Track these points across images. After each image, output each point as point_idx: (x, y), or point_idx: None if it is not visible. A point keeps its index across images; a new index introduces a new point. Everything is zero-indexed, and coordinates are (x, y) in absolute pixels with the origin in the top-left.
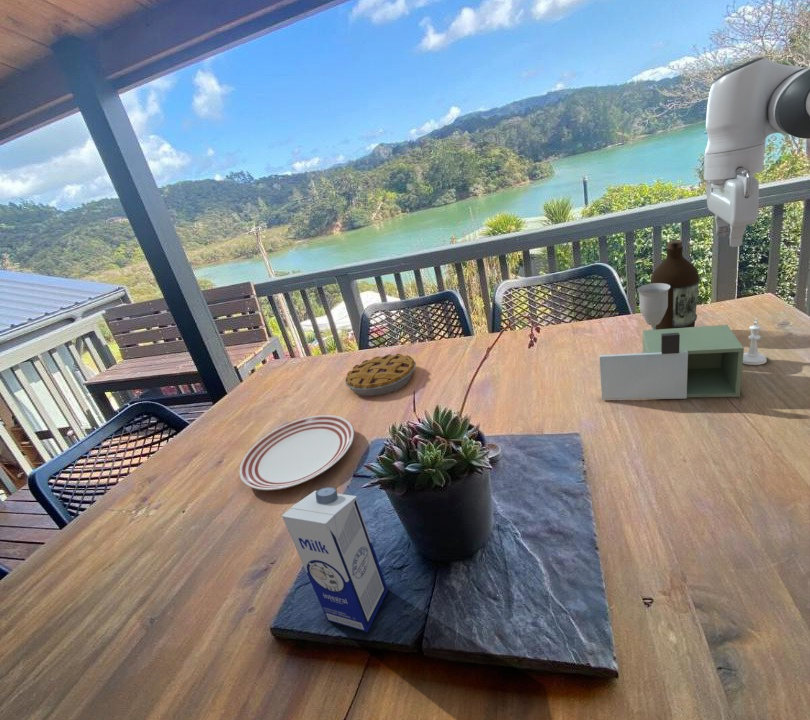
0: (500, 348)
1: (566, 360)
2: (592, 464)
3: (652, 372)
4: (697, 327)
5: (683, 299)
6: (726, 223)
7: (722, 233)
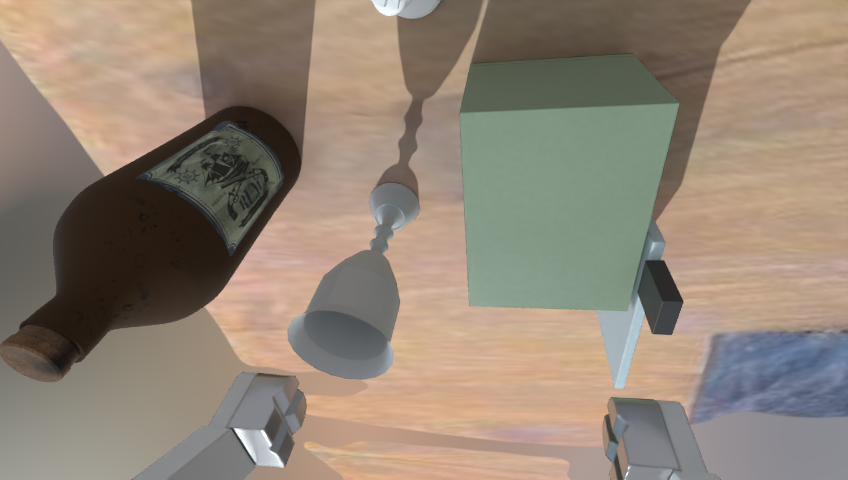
0: (362, 421)
1: (413, 342)
2: (827, 321)
3: None
4: (471, 193)
5: (238, 202)
6: (211, 451)
7: (292, 409)
